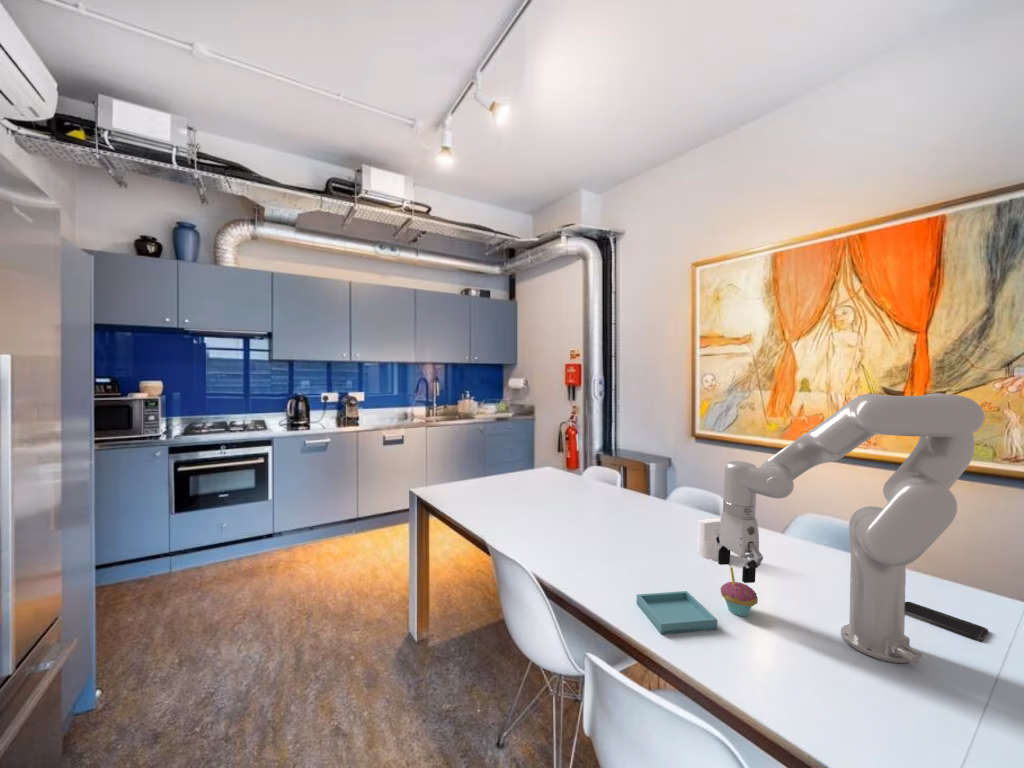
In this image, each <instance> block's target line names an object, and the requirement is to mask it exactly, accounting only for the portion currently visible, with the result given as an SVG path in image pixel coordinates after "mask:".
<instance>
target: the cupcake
mask: <svg viewBox="0 0 1024 768" xmlns="http://www.w3.org/2000/svg"><path fill="white" fill-rule="evenodd" d="M729 566H730V567H729V570H730V576H731V581H729V582H725V583H724V584H722V585H721V587H720V593H721V596H722V598H724V600H725V603H726V607H727V609H728V610H727V611H729V612H730V613H731V614H734V615H735V614H736V616H739V617H746V616H748V615H749V614H750V610H751V609H752V607H754V606H755V605H757V604H758V601H759V600H758V596H757V593H756V592H755V590H754V589H753V587H750V586H749V585H747V584H746V583H744V582H743V583H742V582H739V581H735V580H736V579H735V572H734V569H733V566H732V564H731V563H730V564H729Z"/></svg>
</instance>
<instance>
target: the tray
mask: <svg viewBox="0 0 1024 768" xmlns="http://www.w3.org/2000/svg"><path fill="white" fill-rule="evenodd" d="M636 605H637V606H638V607H639V609H640V610H641V611H642V613H643V614H644V615H645V617H646V618H647V619H648V620H649V621H650V622H651V624H652V626H653V627H655V629H656V630H657V632H658V633H659V634H660V635H669V634H670V635H671V634H680V633H681V634H682V633H693V632H702V631H703V632H706V630H707V631H716V630H718V619H717V618H716V617H715V616H714V615H713V614H712V613H711V612H710V611H709V610H707V609H706V607H705V606H703V604H701V603H700V602H699V601H698V600H697V599H696V598H695V596H693V595H692V594H691V593H690V592H689V591H688V590H684V591H683V590H682V591H680V590H679V591H667V592H655V593H640V594H639V593H638V594H636ZM704 630H705V631H704Z"/></svg>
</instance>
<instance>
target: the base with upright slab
mask: <svg viewBox="0 0 1024 768" xmlns="http://www.w3.org/2000/svg"><path fill="white" fill-rule="evenodd" d="M720 521H721V518H720V517H716V518H708V519H707V518H706V519H699V520H698V534H697V536H696V537H697V541H696V543H697V545H696V546H697V548H696V549H697V551H696V552H697V553H696V554H697V555H698V556H700V557H701V558H703V559H706V560H709V559H712V560H711V561H717V560H718V552H719V550H720V549H718V547H717V545H718V543H717V541H716V534H715V529H719V528H720Z"/></svg>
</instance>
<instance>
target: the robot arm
mask: <svg viewBox="0 0 1024 768" xmlns="http://www.w3.org/2000/svg"><path fill="white" fill-rule="evenodd" d="M985 417H986V415H985V411H984V409H983V408H982V406H981V405H980V404H979V403H977V402H976V401H975V400H973V399H971V398H969V397H967V396H963V395H960V394H959V395H957V394H951V393H950V394H948V393H942V392H941V393H940V392H939V393H937V392H936V393H935V392H933V393H927V394H924V395H888V394H887V395H886V394H885V395H884V394H877V393H876V394H875V393H866V394H861V395H858V396H856V397H855V398H853V399H851V400H850V401H849V402H847V403H846V404H844V405H843V406H842V407H841V408H839V409H838V410H836V411H835V412H834V413H833V414H831V415H829V417H826V419H824V420H823V421H822V422H821V423H819V424H818V425H816V426H815V427H814V428H812V429H811V430H809V431H807V432H806V433H805V434H803V435H802V436H800V437H799V438H797V439H796V440H794V441H793V442H791V443H790V444H787V446H785V447H784V448H782V449H780V450H779V451H778V452H776V453H775V454H774V455H772V456H771V457H770V458H769V459H767V460H766V461H764V462H763V463H762V464H761V465H760V467H757V466H756V465H755V464H753V463H751V462H747V461H742V460H741V461H740V460H731V461H728V462H726V464H725V466H724V475H723V477H724V479H723V496H722V497H723V500H722V501H723V502H722V512H721V516H720V517H721V518H720V519H721V521H720V528H719V529H715V534H716V541H717V543H718V545H717V547H718V549H720V550H719V552H718V561H717V563H718V565H720V566H721V565H723V566H725V565H730V564H731V552H732V553H734V554H735V555H737V556H738V557H739V558H741V560H742V562H743V565H744V566H742V574H741V575H742V576H741V581H742V582H743V584H752V583H753V584H754V583H755V582H756V569H758V568H759V566H760V565H761V563H762V561H763V560H764V556H763V554H762V553H761V552H760V535H759V534H760V533H759V525H758V520H757V518H756V510H757V509H756V506H757V504H756V503H757V494H758V495H761V496H764V497H768V498H771V499H777V500H778V499H784V498H787V497H788V496H790V495H791V494H792V493H793V490H794V486H795V485H794V480H795V479H796V478H798V477H800V476H801V475H803V474H804V473H806V472H807V471H809V470H810V469H812V468H814V467H817V466H819V465H822V464H826V463H832V462H836V461H839V460H840V459H842V458H844V457H845V456H847V455H849V453H850V454H851V452H852V451H854V450H855V449H857V448H858V447H859V446H861V445H862V444H864V443H866V442H867V441H868V440H870V439H872V438H873V437H874V436H876V435H881V436H882V435H884V436H897V437H899V436H900V437H919V438H918V441H917V444H916V446H915V447H914V449H913V450H912V451H911V453H910V454H909V456H907V457H906V459H905V460H904V461H903V462H902V463H901V465H900V466H899V467H898V468H897V470H895V472H894V473H893V474H892V475H891V476H890V477H889V478H888V479H887V480H886V482H885V483H884V485H883V488H882V491H883V496H884V499H886V501H887V503H886V505H885V506H884V507H883V508H882V507H878V506H872V505H871V506H863V507H861V508H859V509H857V510H856V511H854V512H853V513H852V515H851V517H850V519H849V524H848V533H849V534H848V535H849V547H850V549H849V550H850V573H849V579H850V580H849V581H850V582H849V623H848V624H844V625H843V626H841V628H840V635H841V638H842V639H843V640H844V641H845V642H846V643H847V644H848V645H849V646H851V647H852V648H853V649H856V650H857V651H859V652H861V653H863V654H865V655H868V656H869V657H872V658H875V659H877V660H881V661H885V662H889V663H895V664H896V663H897V664H898V663H899V664H903V663H904V664H905V663H910V664H912V666H913V665H914V666H916V665H918V664H919V662H920V659H922V656H923V655H922V653H921V651H918V650H917V649H915V648H913V647H911V645H910V642H911V641H910V637H908V636H907V635H905V627H906V626H905V619H906V618H905V616H906V615H905V602H906V583H907V582H906V580H907V579H906V578H907V573H906V572H907V571H906V570H907V569H906V566H908V565H910V564H912V563H914V562H915V561H916V560H918V559H919V558H920V557H921V556H922V555H923V554H924V553H925V552H926V551H927V550H928V549H929V548H930V547H931V546H932V545H933V544H934V543H935V542H936V541H937V540H938V539H939V538H940V536H941V535H942V534H943V533H944V532H945V531H946V530H947V529H948V528H949V527H950V526H951V524H952V523H953V521H954V520H955V517H956V516H957V513H958V501H957V499H956V497H955V495H954V494H953V492H952V491H951V490H950V489H952V487H953V485H954V484H955V483H956V482H957V481H958V480H959V478H960V477H961V476H962V474H963V473H964V472H965V471H966V469H968V467H969V466H970V464H971V461H972V460H973V457H974V453H975V437H974V433H976V432H977V431H978V430H980V428H981V427H982V426H983V425H984V423H985ZM748 553H749V554H748ZM748 559H750V561H749V560H748ZM742 582H741V583H742Z"/></svg>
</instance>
